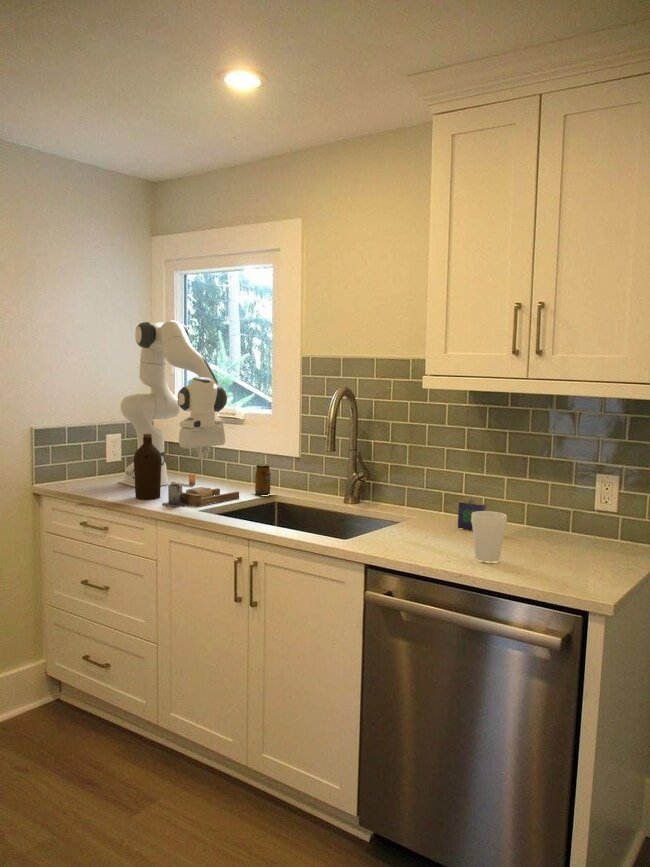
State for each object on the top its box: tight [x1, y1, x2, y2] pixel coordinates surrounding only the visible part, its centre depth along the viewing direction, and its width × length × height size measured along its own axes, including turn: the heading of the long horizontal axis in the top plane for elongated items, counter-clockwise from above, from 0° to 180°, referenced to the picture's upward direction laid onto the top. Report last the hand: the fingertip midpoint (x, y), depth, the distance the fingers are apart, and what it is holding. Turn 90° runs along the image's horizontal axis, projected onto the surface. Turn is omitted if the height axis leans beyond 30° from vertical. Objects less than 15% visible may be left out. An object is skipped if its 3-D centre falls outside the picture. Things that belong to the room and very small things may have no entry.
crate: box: [185, 486, 213, 498], centre depth 276 cm, size 6×8×5 cm
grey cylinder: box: [162, 484, 189, 508], centre depth 269 cm, size 7×7×8 cm
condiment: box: [250, 463, 271, 496], centre depth 293 cm, size 7×8×12 cm
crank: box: [170, 473, 196, 488], centre depth 266 cm, size 12×3×5 cm, turn 53°
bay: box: [182, 488, 240, 507], centre depth 280 cm, size 12×22×4 cm, turn 143°
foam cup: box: [471, 510, 508, 562], centre depth 200 cm, size 10×9×13 cm
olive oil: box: [133, 434, 162, 501], centre depth 282 cm, size 11×11×25 cm
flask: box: [457, 497, 487, 531], centre depth 237 cm, size 9×3×11 cm, turn 59°
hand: (202, 459), depth 267 cm, fingers closed
